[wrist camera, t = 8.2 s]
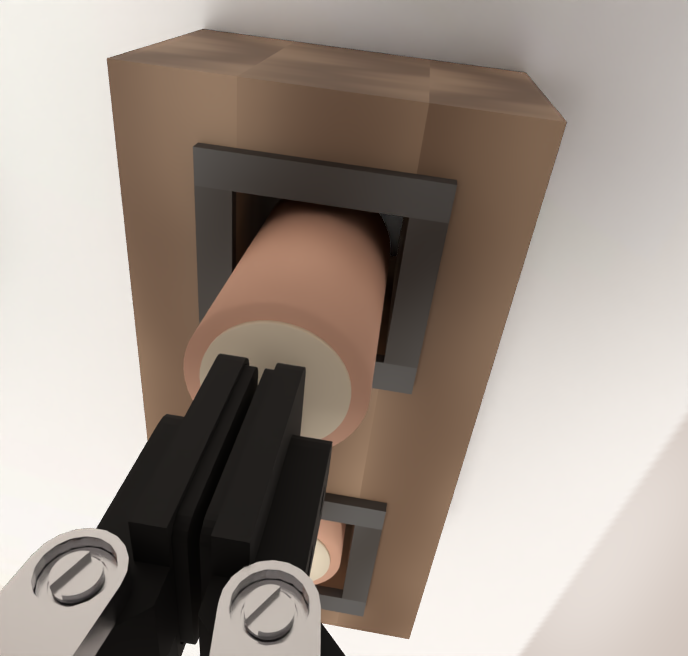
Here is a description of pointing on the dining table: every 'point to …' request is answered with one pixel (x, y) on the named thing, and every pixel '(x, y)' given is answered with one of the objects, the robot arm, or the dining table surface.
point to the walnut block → (354, 193)
